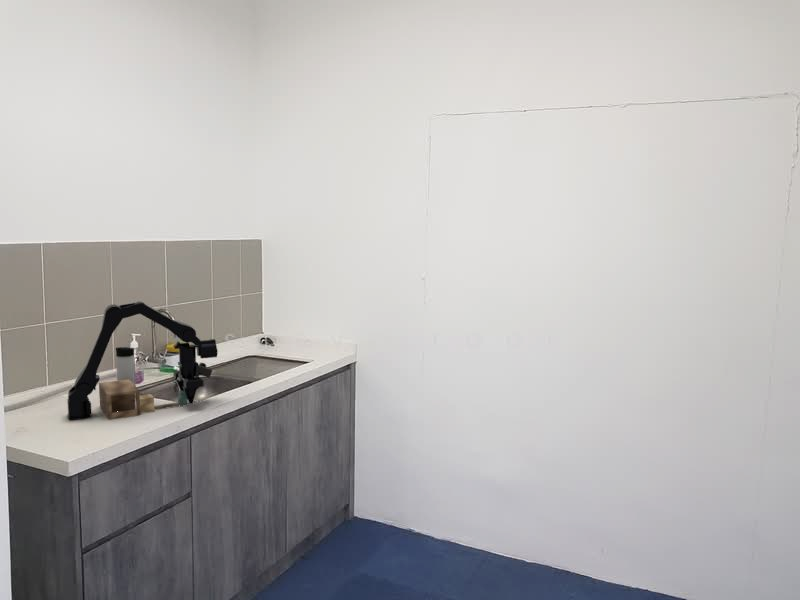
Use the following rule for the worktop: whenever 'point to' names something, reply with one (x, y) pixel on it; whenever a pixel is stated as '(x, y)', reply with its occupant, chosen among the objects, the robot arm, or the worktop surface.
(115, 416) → the brown wooden box
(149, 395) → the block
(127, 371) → the travel mug
